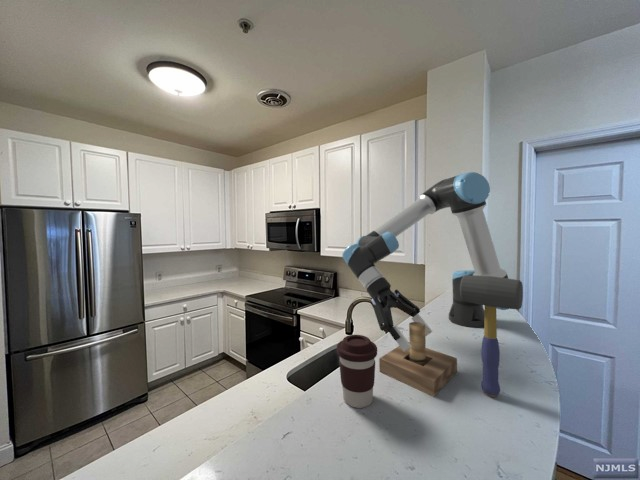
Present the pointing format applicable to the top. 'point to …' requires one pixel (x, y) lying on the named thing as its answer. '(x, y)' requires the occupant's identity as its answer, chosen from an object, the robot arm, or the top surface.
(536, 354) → the top surface
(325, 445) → the top surface
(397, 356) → the walnut socket block
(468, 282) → the rubber mallet
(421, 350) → the oak peg
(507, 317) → the top surface
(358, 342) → the coffee cup
